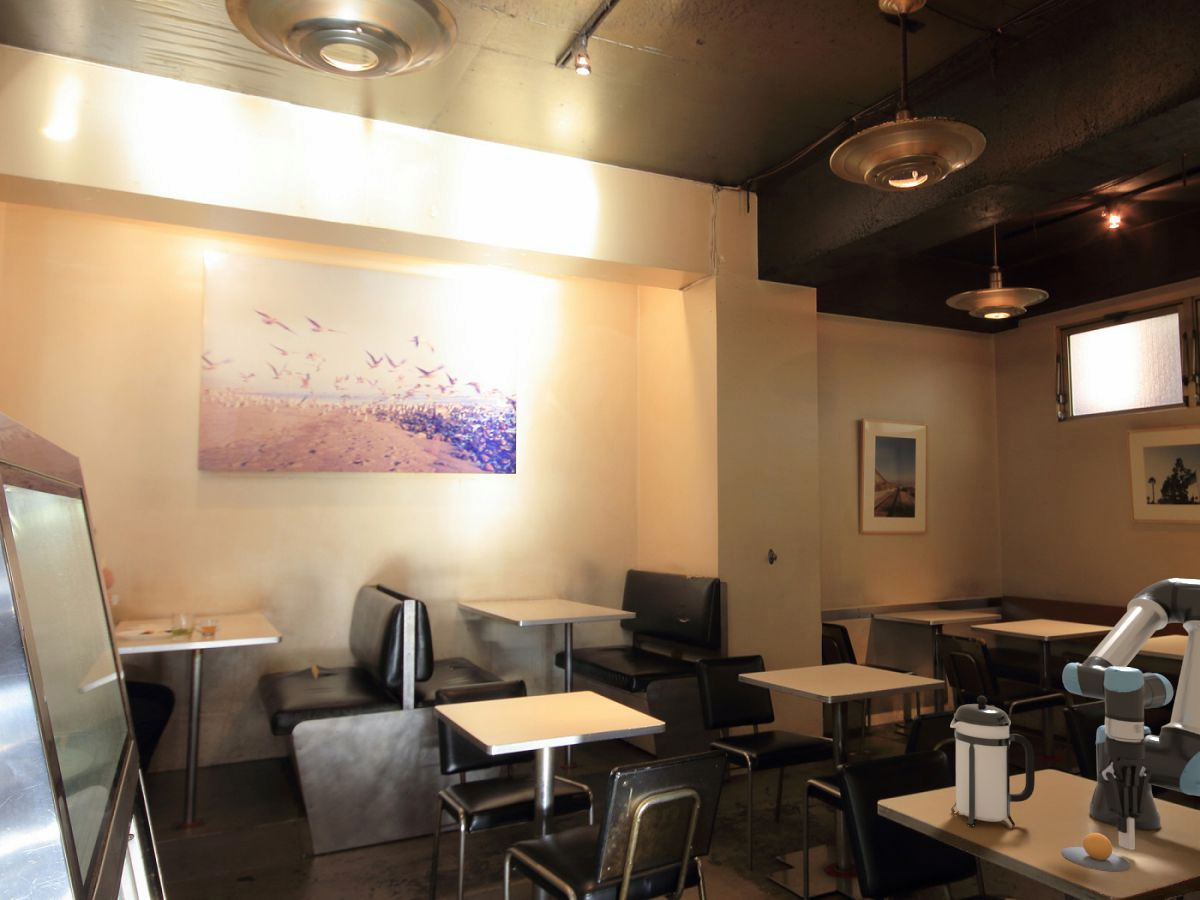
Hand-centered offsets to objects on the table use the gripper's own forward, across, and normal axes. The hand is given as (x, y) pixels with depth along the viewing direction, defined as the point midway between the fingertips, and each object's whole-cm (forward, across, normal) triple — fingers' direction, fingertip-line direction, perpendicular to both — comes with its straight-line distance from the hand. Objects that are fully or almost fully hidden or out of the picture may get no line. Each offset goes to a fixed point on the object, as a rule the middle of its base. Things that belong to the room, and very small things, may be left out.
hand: (1126, 846), depth 187 cm
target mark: (+2, -9, 0) cm, 9 cm away
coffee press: (+2, -14, +26) cm, 30 cm away
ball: (-1, -9, 0) cm, 9 cm away
